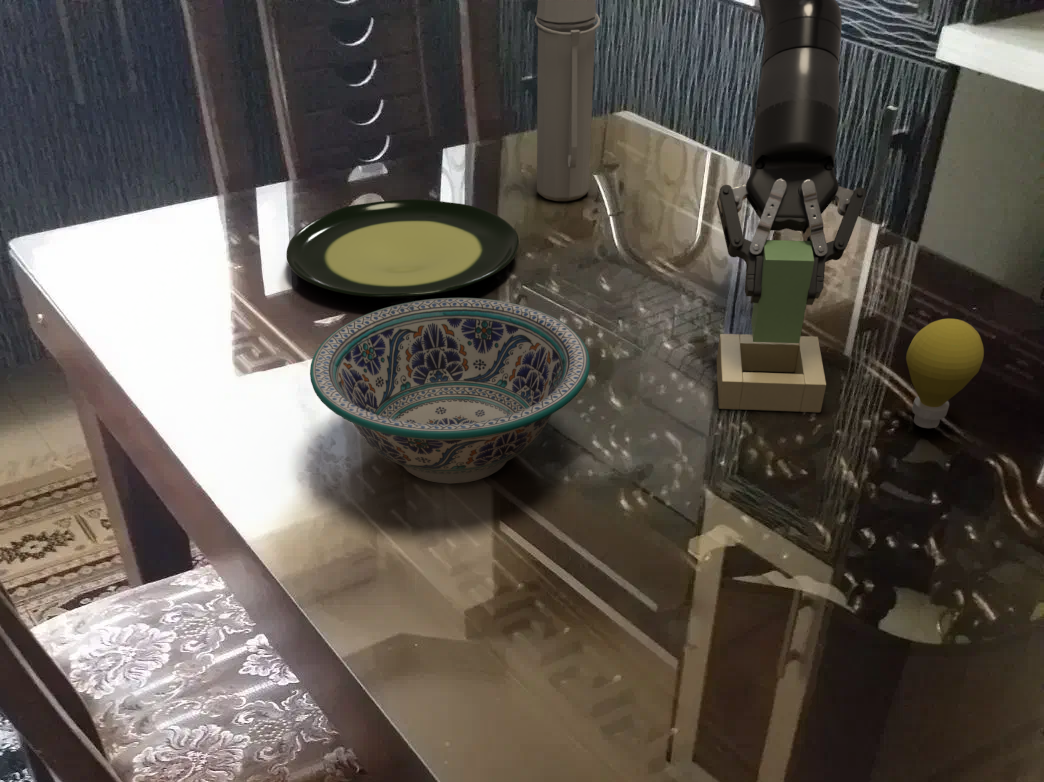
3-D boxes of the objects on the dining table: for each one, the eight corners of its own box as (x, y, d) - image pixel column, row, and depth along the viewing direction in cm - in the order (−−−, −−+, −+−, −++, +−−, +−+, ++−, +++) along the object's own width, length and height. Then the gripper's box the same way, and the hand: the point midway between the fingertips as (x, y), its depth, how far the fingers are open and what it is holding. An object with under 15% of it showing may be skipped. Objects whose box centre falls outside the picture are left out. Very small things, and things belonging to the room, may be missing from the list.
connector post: (796, 322, 114) (810, 240, 108) (799, 343, 111) (814, 260, 105) (751, 321, 114) (763, 239, 108) (752, 341, 111) (765, 259, 105)
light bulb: (888, 435, 109) (913, 334, 102) (892, 400, 114) (917, 302, 107) (961, 444, 108) (993, 343, 101) (963, 409, 112) (993, 309, 105)
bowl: (272, 448, 111) (255, 355, 104) (471, 363, 121) (468, 273, 114) (432, 566, 97) (425, 467, 90) (641, 457, 108) (649, 362, 101)
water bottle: (528, 186, 155) (528, -33, 137) (584, 180, 156) (592, -38, 138) (543, 212, 149) (545, -14, 131) (601, 206, 150) (612, -19, 132)
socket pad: (812, 363, 119) (818, 336, 117) (820, 412, 112) (826, 384, 110) (716, 360, 120) (719, 333, 118) (718, 409, 114) (722, 381, 111)
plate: (243, 263, 140) (239, 242, 139) (419, 199, 153) (417, 180, 151) (384, 339, 126) (382, 317, 124) (566, 262, 138) (567, 241, 136)
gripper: (723, 95, 105) (710, 283, 105) (884, 96, 103) (869, 288, 104) (715, 137, 112) (702, 313, 113) (865, 139, 111) (851, 317, 111)
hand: (783, 300), depth 108 cm, fingers closed on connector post, 4 cm apart
